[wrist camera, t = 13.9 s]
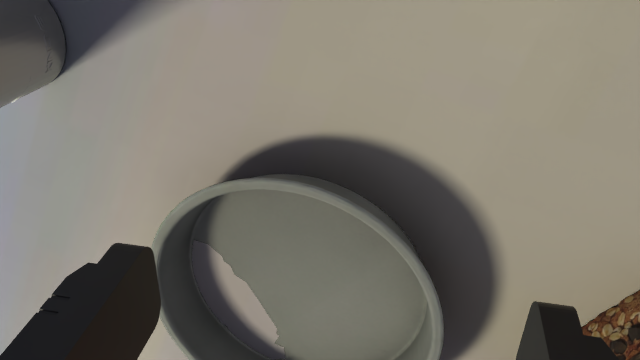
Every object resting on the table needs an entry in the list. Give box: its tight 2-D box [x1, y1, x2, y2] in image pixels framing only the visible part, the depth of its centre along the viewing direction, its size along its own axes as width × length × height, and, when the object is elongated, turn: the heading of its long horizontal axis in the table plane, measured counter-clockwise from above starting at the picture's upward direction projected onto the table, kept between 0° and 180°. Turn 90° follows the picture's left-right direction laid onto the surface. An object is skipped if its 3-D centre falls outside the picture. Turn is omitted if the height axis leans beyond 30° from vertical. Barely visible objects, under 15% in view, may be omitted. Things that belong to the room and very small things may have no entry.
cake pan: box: [151, 174, 444, 360], centre depth 48 cm, size 25×25×4 cm
